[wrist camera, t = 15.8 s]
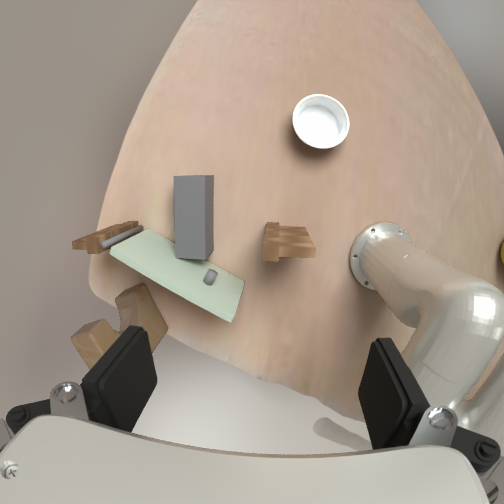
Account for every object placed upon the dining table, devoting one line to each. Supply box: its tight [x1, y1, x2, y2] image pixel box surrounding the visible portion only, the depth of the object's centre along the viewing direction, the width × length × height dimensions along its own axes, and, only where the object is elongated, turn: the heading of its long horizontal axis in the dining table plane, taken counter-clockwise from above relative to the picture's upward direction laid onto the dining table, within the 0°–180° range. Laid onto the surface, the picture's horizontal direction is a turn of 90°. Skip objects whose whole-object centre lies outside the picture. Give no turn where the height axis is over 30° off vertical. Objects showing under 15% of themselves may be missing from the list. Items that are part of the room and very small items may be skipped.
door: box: [100, 225, 245, 323], centre depth 44 cm, size 22×3×13 cm, turn 62°
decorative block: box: [71, 283, 168, 370], centre depth 45 cm, size 11×6×20 cm, turn 22°
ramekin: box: [292, 94, 349, 149], centre depth 41 cm, size 9×9×4 cm
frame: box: [72, 221, 316, 262], centre depth 42 cm, size 35×2×14 cm, turn 90°
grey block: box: [174, 175, 214, 260], centre depth 46 cm, size 5×13×6 cm, turn 179°
